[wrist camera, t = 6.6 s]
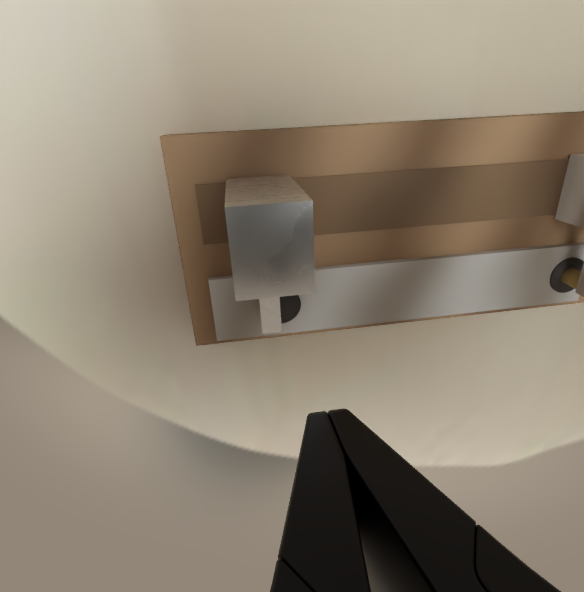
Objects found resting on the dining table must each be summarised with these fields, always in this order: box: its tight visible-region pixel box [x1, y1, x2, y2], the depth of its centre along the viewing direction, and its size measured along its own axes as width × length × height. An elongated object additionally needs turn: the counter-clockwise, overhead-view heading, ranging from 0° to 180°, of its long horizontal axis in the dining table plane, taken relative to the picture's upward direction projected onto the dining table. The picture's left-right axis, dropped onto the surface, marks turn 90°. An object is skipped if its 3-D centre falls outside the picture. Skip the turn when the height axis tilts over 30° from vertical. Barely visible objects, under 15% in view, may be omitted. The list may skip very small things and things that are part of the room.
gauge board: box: [160, 111, 584, 346], centre depth 17 cm, size 20×9×4 cm, turn 93°
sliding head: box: [225, 175, 315, 334], centre depth 14 cm, size 2×6×5 cm, turn 3°
